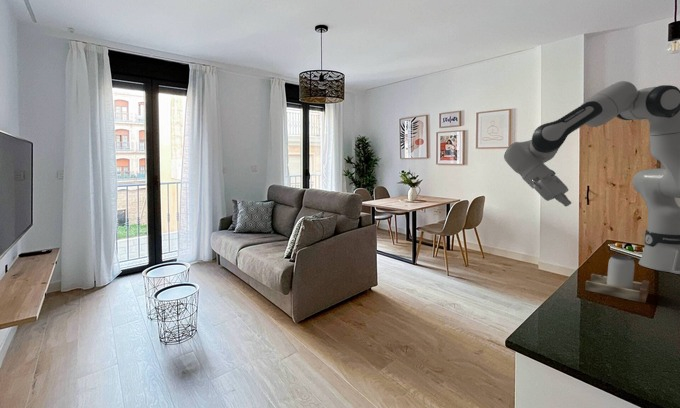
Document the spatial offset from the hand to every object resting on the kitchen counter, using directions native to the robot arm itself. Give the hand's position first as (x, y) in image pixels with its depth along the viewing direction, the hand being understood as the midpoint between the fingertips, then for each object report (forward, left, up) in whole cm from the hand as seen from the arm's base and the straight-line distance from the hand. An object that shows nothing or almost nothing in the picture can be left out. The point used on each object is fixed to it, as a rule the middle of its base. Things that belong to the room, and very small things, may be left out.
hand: (569, 205), depth 119 cm
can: (-11, +12, -28) cm, 32 cm away
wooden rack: (-10, +11, -27) cm, 31 cm away
